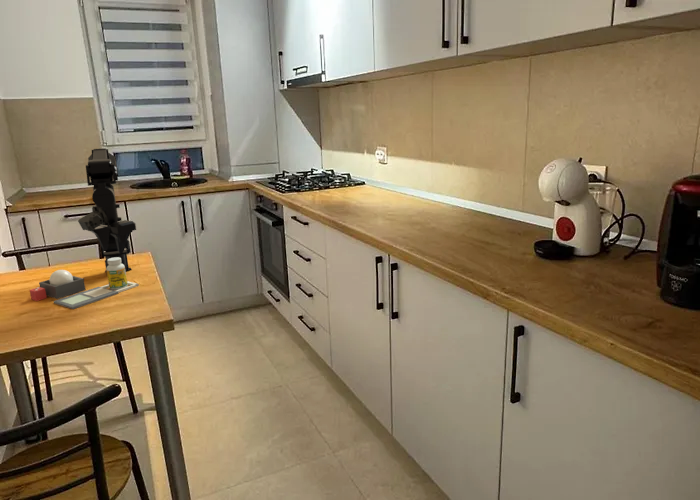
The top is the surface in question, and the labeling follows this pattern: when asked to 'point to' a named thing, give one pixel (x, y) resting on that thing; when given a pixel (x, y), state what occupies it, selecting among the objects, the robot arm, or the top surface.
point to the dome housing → (57, 289)
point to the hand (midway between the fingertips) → (113, 251)
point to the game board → (91, 296)
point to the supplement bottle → (116, 274)
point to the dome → (60, 277)
